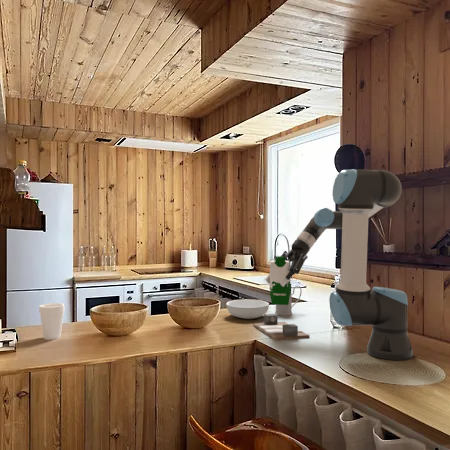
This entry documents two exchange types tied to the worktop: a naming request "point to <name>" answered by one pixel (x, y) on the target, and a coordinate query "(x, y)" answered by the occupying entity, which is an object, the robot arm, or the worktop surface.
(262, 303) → the serving bowl
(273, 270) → the soya milk
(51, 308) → the foam cup
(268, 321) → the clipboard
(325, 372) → the worktop surface
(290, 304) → the white pitcher
